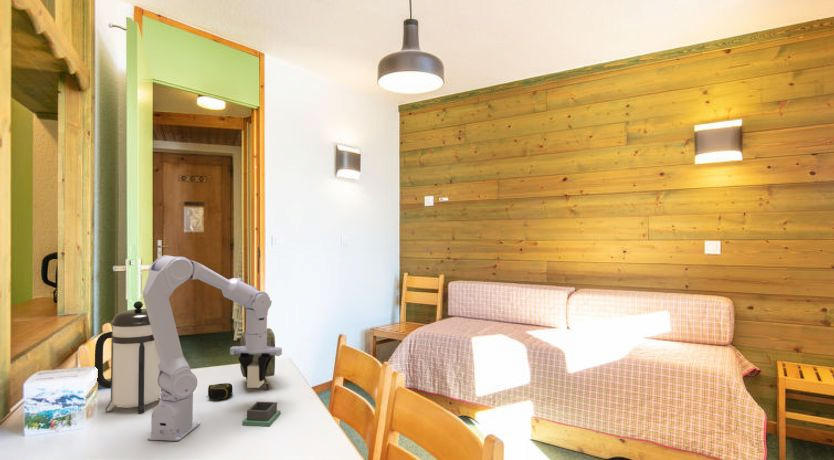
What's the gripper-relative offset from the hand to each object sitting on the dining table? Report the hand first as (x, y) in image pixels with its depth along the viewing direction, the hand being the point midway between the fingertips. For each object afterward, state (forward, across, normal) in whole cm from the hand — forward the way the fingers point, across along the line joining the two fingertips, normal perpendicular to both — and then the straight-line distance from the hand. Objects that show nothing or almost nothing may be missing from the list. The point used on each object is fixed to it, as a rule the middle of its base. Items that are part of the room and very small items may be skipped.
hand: (255, 379), depth 128 cm
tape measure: (+8, +14, -6) cm, 17 cm away
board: (+8, -6, +8) cm, 13 cm away
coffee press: (+8, +35, +3) cm, 36 cm away
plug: (+2, 0, 0) cm, 2 cm away
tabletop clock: (+8, +7, -17) cm, 20 cm away
